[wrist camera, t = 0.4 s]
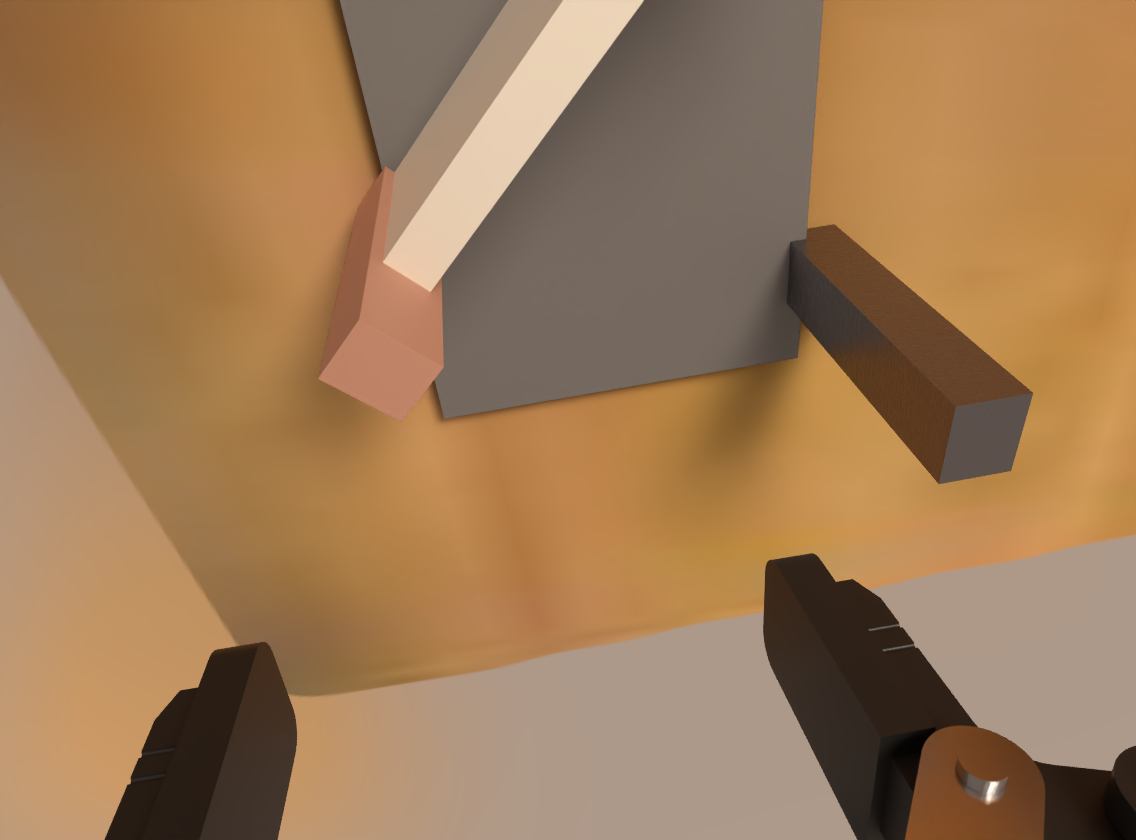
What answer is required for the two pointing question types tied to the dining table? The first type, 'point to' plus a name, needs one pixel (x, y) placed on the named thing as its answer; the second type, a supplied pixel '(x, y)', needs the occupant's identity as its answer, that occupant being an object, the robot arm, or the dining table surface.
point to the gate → (454, 193)
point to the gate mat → (618, 197)
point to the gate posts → (907, 359)
